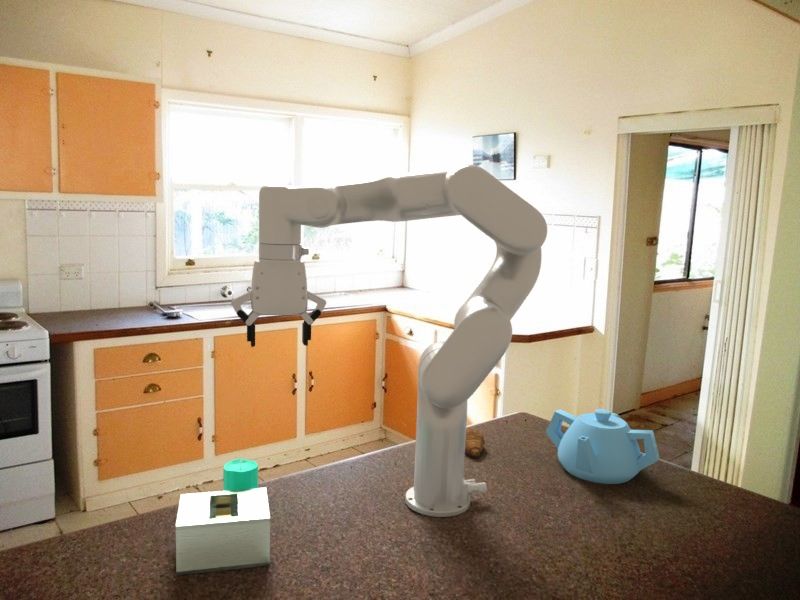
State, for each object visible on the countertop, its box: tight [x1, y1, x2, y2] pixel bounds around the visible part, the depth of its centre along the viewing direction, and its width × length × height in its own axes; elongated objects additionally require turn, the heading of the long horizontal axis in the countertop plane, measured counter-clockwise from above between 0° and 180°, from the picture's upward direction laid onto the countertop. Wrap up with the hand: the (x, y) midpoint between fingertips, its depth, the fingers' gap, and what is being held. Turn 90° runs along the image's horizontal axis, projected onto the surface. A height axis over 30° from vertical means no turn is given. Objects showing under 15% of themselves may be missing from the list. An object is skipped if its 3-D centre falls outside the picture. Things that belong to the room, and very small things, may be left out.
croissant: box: [465, 428, 486, 459], centre depth 153 cm, size 14×7×5 cm, turn 5°
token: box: [216, 507, 231, 518], centre depth 106 cm, size 2×5×5 cm
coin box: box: [175, 486, 271, 576], centre depth 104 cm, size 14×11×8 cm
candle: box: [223, 458, 259, 491], centre depth 114 cm, size 6×6×12 cm
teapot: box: [545, 408, 660, 485], centre depth 142 cm, size 19×19×14 cm
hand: (279, 344), depth 120 cm, fingers open, 9 cm apart
